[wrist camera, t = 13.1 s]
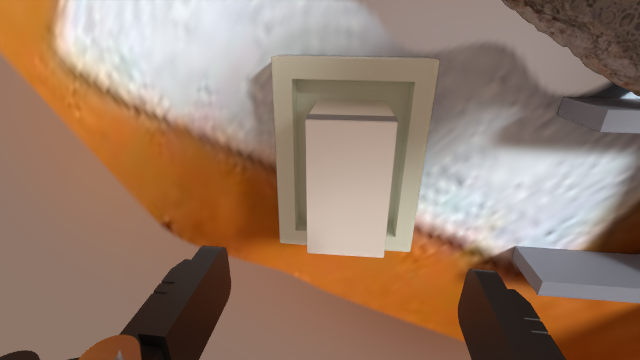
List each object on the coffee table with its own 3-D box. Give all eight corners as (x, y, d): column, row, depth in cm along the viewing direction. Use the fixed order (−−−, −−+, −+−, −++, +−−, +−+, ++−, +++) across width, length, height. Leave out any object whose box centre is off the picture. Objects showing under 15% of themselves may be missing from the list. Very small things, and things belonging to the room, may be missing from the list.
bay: (566, 87, 20) (612, 98, 17) (744, 91, 19) (834, 104, 16) (509, 264, 26) (535, 301, 22) (645, 274, 25) (694, 314, 21)
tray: (280, 55, 21) (271, 57, 19) (430, 57, 20) (439, 60, 18) (286, 225, 27) (280, 242, 24) (405, 232, 26) (410, 251, 23)
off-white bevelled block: (317, 98, 21) (304, 119, 16) (387, 99, 21) (398, 122, 15) (317, 205, 25) (306, 253, 19) (377, 208, 24) (384, 258, 19)
